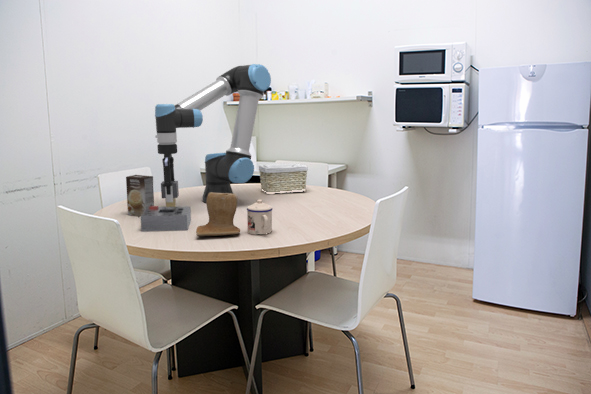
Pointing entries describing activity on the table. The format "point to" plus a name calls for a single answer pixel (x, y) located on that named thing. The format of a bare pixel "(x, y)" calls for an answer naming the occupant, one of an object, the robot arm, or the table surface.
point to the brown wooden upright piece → (219, 215)
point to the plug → (175, 193)
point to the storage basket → (282, 177)
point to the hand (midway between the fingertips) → (170, 200)
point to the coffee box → (139, 194)
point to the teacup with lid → (259, 218)
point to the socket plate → (166, 218)
